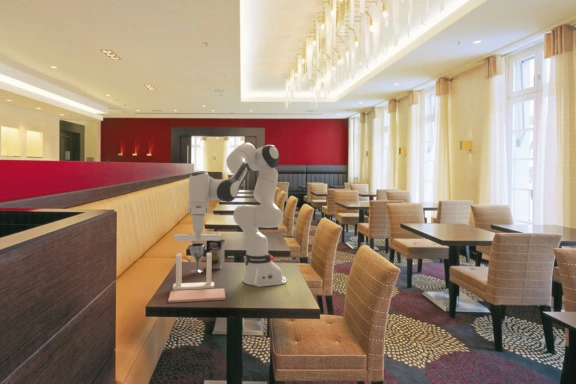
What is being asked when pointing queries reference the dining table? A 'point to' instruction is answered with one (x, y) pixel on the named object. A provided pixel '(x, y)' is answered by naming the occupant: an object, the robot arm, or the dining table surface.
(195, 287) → the cradle stand
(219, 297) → the terracotta board
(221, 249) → the coffee box
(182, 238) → the aluminium rail
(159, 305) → the dining table surface
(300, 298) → the dining table surface
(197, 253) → the wine glass
